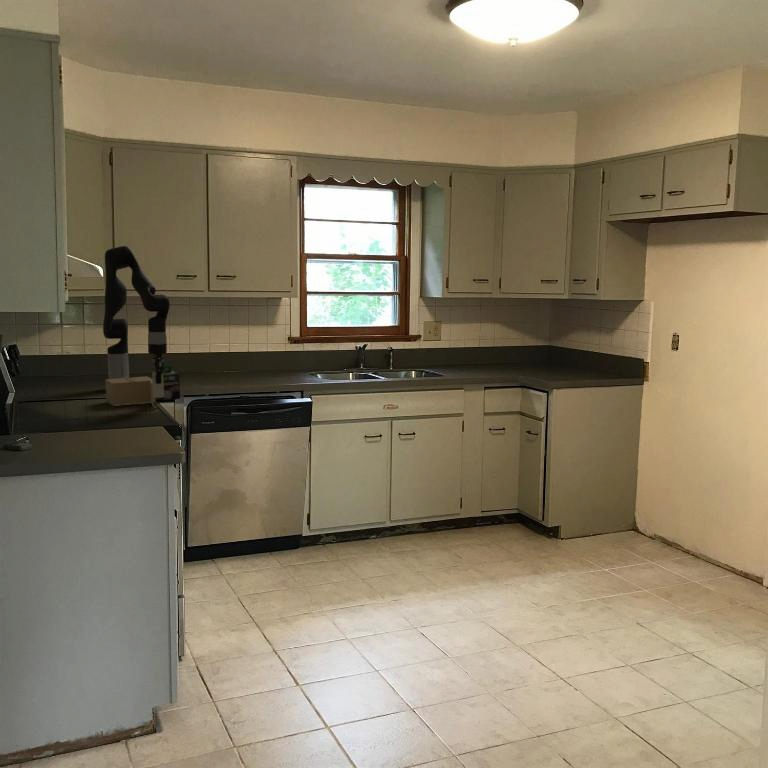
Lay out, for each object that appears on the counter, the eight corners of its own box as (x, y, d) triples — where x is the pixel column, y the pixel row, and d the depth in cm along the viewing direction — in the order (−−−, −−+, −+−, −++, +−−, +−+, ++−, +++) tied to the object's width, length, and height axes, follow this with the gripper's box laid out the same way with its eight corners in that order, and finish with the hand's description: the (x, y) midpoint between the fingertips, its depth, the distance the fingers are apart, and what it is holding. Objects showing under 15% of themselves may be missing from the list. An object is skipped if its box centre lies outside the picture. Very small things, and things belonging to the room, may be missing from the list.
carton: (106, 402, 359) (105, 379, 357) (147, 398, 368) (147, 376, 367) (113, 406, 349) (112, 383, 347) (155, 403, 358) (154, 379, 357)
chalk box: (172, 395, 377) (171, 363, 375) (181, 398, 370) (180, 365, 368) (153, 397, 371) (151, 364, 369) (161, 400, 364) (160, 367, 362)
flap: (151, 406, 349) (150, 372, 347) (151, 403, 357) (150, 369, 354) (164, 406, 350) (163, 371, 348) (164, 402, 358) (163, 368, 356)
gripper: (145, 341, 351) (146, 381, 354) (151, 344, 339) (151, 386, 341) (163, 340, 354) (164, 380, 357) (169, 343, 342) (170, 385, 345)
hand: (158, 383), depth 349 cm, fingers closed on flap
